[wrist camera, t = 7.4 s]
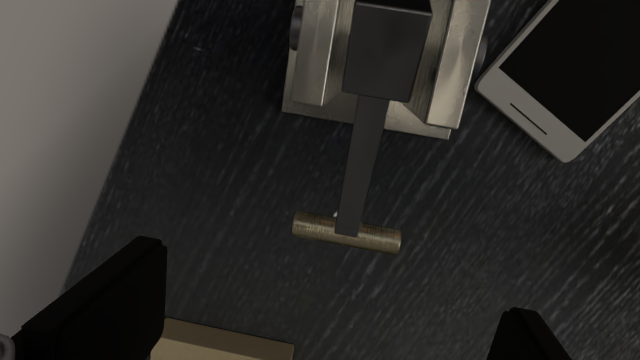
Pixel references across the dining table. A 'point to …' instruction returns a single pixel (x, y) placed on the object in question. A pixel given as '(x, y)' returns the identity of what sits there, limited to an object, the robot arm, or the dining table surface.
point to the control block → (214, 344)
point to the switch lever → (371, 113)
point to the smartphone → (568, 72)
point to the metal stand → (432, 77)
